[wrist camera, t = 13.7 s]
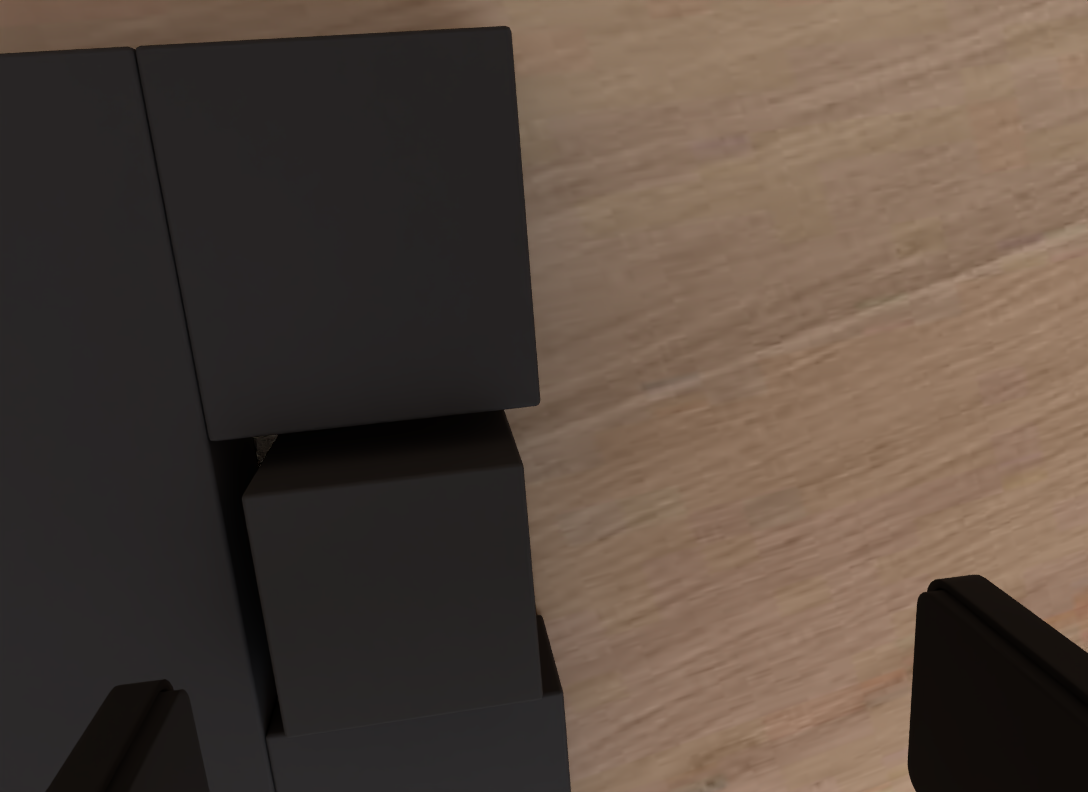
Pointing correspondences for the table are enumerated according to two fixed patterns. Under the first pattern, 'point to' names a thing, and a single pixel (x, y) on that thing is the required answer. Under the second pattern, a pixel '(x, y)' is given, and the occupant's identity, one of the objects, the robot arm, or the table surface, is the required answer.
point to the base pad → (241, 368)
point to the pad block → (395, 571)
